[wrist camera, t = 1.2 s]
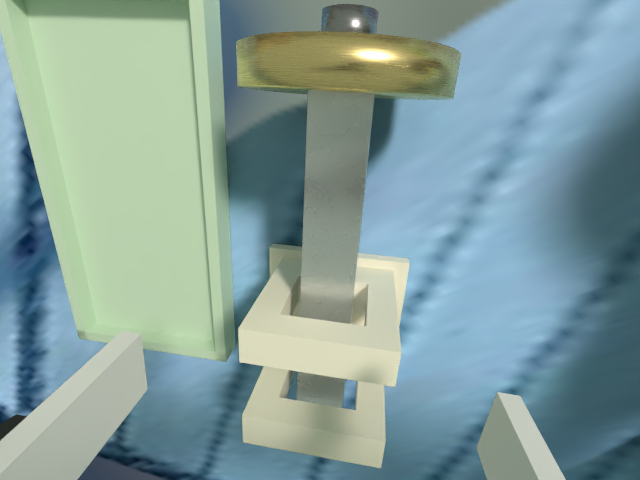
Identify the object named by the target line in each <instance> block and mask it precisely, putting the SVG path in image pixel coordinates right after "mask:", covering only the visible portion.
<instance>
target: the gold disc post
mask: <svg viewBox="0 0 640 480" xmlns="http://www.w3.org/2000/svg"><path fill="white" fill-rule="evenodd" d="M377 21H378V11H377V10H375V9H374V8H371V7H367V6H362V5H353V4H339V5H331V6H327V7H325V8H323V9H322V25H321V27H322V28H321V32H320V31H311V32H280V33H269V34H262V35H255V36H250V37H246V38H243V39H241V40H239V41H238V42H237V43H236V49H237V76H238V77H237V80H238V87H241V88H248V89H255V90H264V91H274V92H287V93H300V94H308V104H307V132H306V159H305V186H304V213H303V240H302V268H301V295H300V317H303V318H310V319H318V320H325V321H332V322H339V323H347V324H351V320H352V311H353V301H354V291H355V282H356V272H357V263H358V253H359V243H360V234H361V224H362V215H363V205H364V195H365V186H366V176H367V166H368V157H369V147H370V138H371V128H372V118H373V109H374V99H375V98H388V99H423V100H442V99H453V97H454V92H455V86H456V81H457V76H458V70H459V65H460V59H461V53H460V52H459V51H458V50H456V49H454V48H452V47H449V46H446V45H442V44H439V43H434V42H430V41H425V40H419V39H413V38H406V37H398V36H390V35H380V34H376V30H377ZM344 388H345V379H342V378H335V377H329V376H323V375H317V374H310V373H304V372H298V376H297V400H298V401H304V402H310V403H316V404H321V405H327V406H333V407H339V408H342V405H343V396H344Z"/></svg>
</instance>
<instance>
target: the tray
mask: <svg viewBox="0 0 640 480" xmlns="http://www.w3.org/2000/svg"><path fill="white" fill-rule="evenodd" d="M0 30H1V34H2V37H3V41H4V45H5V49H6V53H7V57H8V61H9V65H10V69H11V73H12V77H13V81H14V85H15V89H16V92H17V96H18V100H19V104H20V108H21V112H22V116H23V120H24V124H25V128H26V132H27V136H28V140H29V143H30V147H31V151H32V155H33V159H34V163H35V167H36V171H37V175H38V179H39V183H40V187H41V191H42V195H43V198H44V202H45V206H46V210H47V214H48V218H49V222H50V226H51V230H52V234H53V238H54V242H55V246H56V249H57V253H58V257H59V261H60V265H61V269H62V273H63V277H64V281H65V285H66V289H67V293H68V297H69V301H70V304H71V308H72V312H73V316H74V320H75V324H76V328H77V332H78V336H79V338H80V339H86V340H92V341H98V342H105V343H109V342H110V341H111V340H112V339H114V338H115V337H116V336H117V335H118V334H119V333H120V332H121V331H127V332H133V333H139V334H141V337H142V346H143V349H149V350H155V351H161V352H167V353H174V354H180V355H186V356H193V357H199V358H205V359H211V360H218V361H224V362H226V361H227V359H228V357H229V356H230V354H231V352H232V351H233V349H234V347H235V346H236V342H235V321H234V300H233V279H232V258H231V237H230V216H229V195H228V174H227V153H226V133H225V111H224V91H223V69H222V49H221V28H220V6H219V0H0Z"/></svg>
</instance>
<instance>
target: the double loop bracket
mask: <svg viewBox="0 0 640 480" xmlns="http://www.w3.org/2000/svg"><path fill="white" fill-rule="evenodd" d="M409 264H410V263H409V259H408V258H399V257H390V256H381V255H372V254H363V253H358V263H357V272H356V282H355V291H354V301H353V311H352V320H351V324H347V323H339V322H332V321H325V320H318V319H310V318H303V317H300V295H301V268H302V247H300V246H291V245H282V244H272V245H271V247H270V279H269V281H268V282H267V284H266V285H265V287H264V289H263V290H262V292H261V293H260V295H259V296H258V298H257V300H256V301H255V303H254V304H253V306H252V308H251V309H250V311H249V312H248V314H247V315H246V317H245V319H244V320H243V322H242V323H241V325H240V326H239V328H238V338H239V361H240V362H241V363H247V364H254V365H260V366H264V367H263V369H262V371H261V374H260V376H259V378H258V380H257V383H256V385H255V387H254V390H253V392H252V394H251V396H250V399H249V401H248V403H247V405H246V408H245V410H244V412H243V414H242V430H243V442H244V443H249V444H254V445H260V446H265V447H270V448H275V449H281V450H286V451H291V452H296V453H302V454H307V455H312V456H318V457H323V458H328V459H333V460H339V461H344V462H349V463H355V464H360V465H365V466H370V467H376V468H381V465H382V460H383V454H384V448H385V443H386V434H385V395H384V385H386V386H392V387H395V386H396V380H397V374H398V369H399V363H400V357H401V344H400V334H399V324H400V318H401V312H402V306H403V300H404V294H405V288H406V282H407V276H408V270H409ZM295 371H298V372H304V373H310V374H317V375H323V376H329V377H335V378H342V379H348V380H354V381H357V386H356V399H355V410H351V409H345V408H339V407H333V406H327V405H321V404H316V403H310V402H304V401H298V400H292V399H286V398H287V395H288V392H289V388H290V385H291V382H292V379H293V376H294V372H295Z"/></svg>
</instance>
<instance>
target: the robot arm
mask: <svg viewBox="0 0 640 480" xmlns="http://www.w3.org/2000/svg"><path fill="white" fill-rule="evenodd" d="M147 390H148V388H147V379H146V371H145V363H144V354H143V346H142V337H141V334H139V333H133V332H127V331H121V332H120V333H119V334H118V335H117V336H116V337H115V338H114V339H112V340H111V341H110V342H109V343H108V344H107V345H106V346H105V347H104V348H102V349H101V350H100V351H99V352H98V353H97V354H96V355H95V356H94V357H92V358H91V359H90V360H89V361H88V362H87V363H86V364H85V365H84V366H83V367H81V368H80V369H79V370H78V371H77V372H76V373H75V374H74V375H73V376H71V377H70V378H69V379H68V380H67V381H66V382H65V383H64V384H63V385H61V386H60V387H59V388H58V389H57V390H56V391H55V392H54V393H53V394H52V395H50V396H49V397H48V398H47V399H46V400H45V401H44V402H43V403H42V404H40V405H39V406H38V407H37V408H36V409H35V410H34V411H33V412H32V413H30V414H29V415H28V416H21V415H15V416H13V417H11V418H10V419H8V420H6V421H5V422H3V423H1V424H0V480H77V479H78V478H79V477H80V475H81V474H82V473H83V472H84V470H85V469H86V468H87V467H88V465H89V464H90V463H91V461H92V460H93V459H94V458H95V456H96V455H97V454H98V452H99V451H100V450H101V449H102V447H103V446H104V445H105V443H106V442H107V441H108V440H109V438H110V437H111V436H112V435H113V433H114V432H115V431H116V429H117V428H118V427H119V426H120V424H121V423H122V422H123V420H124V419H125V418H126V417H127V415H128V414H129V413H130V411H131V410H132V409H133V408H134V406H135V405H136V404H137V403H138V401H139V400H140V399H141V397H142V396H143V395H144V394H145V392H146V391H147ZM477 451H478V454H479V457H480V460H481V463H482V466H483V469H484V472H485V475H486V478H487V480H566V479H565V477H564V476H563V474H562V472H561V470H560V468H559V466H558V465H557V463H556V461H555V459H554V457H553V455H552V454H551V452H550V450H549V448H548V446H547V444H546V443H545V441H544V439H543V437H542V435H541V433H540V432H539V430H538V428H537V426H536V424H535V422H534V421H533V419H532V417H531V415H530V413H529V411H528V410H527V408H526V406H525V404H524V402H523V400H522V399H521V397H520V396H517V395H511V394H505V393H499V392H497V394H496V397H495V400H494V402H493V405H492V408H491V410H490V413H489V416H488V418H487V421H486V424H485V426H484V429H483V432H482V434H481V437H480V440H479V442H478V445H477Z"/></svg>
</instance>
